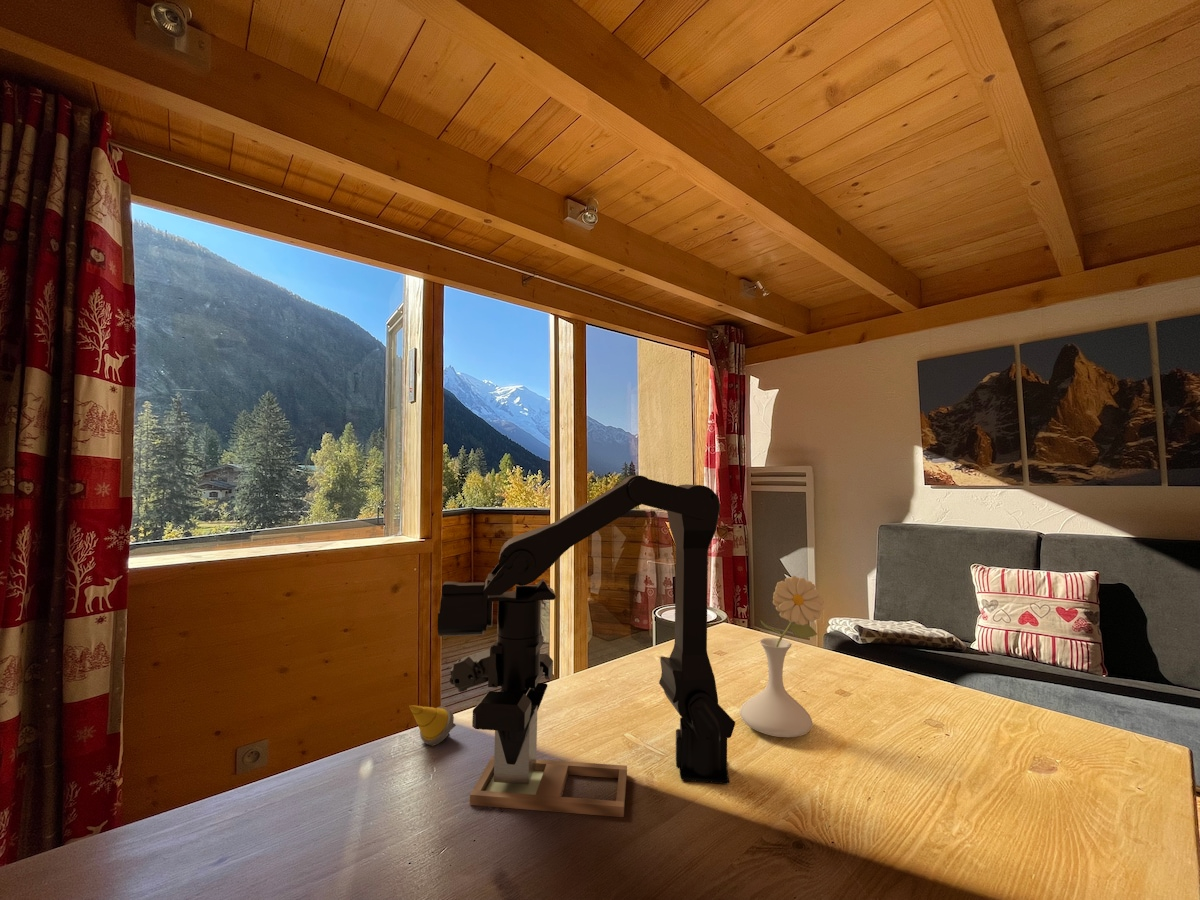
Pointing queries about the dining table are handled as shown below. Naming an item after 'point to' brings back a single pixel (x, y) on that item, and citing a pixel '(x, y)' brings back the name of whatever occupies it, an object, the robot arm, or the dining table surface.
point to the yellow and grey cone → (433, 723)
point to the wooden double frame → (551, 789)
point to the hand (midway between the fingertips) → (516, 753)
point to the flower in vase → (774, 704)
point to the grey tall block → (525, 760)
